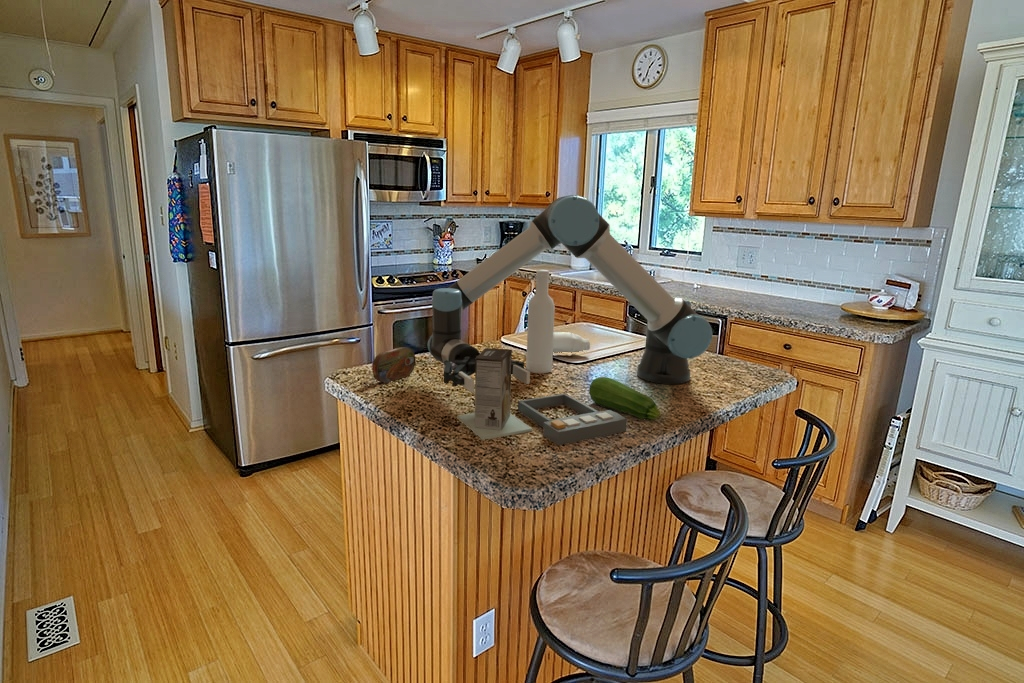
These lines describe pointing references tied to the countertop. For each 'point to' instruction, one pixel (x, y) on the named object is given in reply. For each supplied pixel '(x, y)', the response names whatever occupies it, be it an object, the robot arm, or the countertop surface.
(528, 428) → the sage mat
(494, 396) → the coffee box
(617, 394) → the vegetable
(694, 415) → the countertop surface
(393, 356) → the tin
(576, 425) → the frame
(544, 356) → the bottle
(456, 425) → the countertop surface
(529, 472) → the countertop surface
